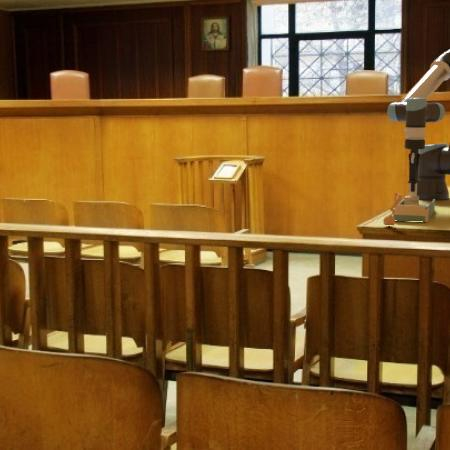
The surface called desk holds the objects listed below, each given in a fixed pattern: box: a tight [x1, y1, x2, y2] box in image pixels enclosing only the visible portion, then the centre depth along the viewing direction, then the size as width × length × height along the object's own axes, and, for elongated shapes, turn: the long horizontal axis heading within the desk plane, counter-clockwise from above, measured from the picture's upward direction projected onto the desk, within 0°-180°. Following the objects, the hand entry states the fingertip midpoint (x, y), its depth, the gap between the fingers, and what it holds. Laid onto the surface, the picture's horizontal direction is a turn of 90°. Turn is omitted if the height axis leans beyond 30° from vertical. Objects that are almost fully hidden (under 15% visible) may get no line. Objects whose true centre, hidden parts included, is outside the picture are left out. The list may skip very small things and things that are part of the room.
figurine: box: [383, 191, 403, 226], centre depth 262 cm, size 8×6×12 cm
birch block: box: [403, 195, 420, 206], centre depth 296 cm, size 5×5×3 cm
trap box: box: [392, 198, 436, 223], centre depth 286 cm, size 30×12×6 cm, turn 160°
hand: (412, 199), depth 301 cm, fingers closed
